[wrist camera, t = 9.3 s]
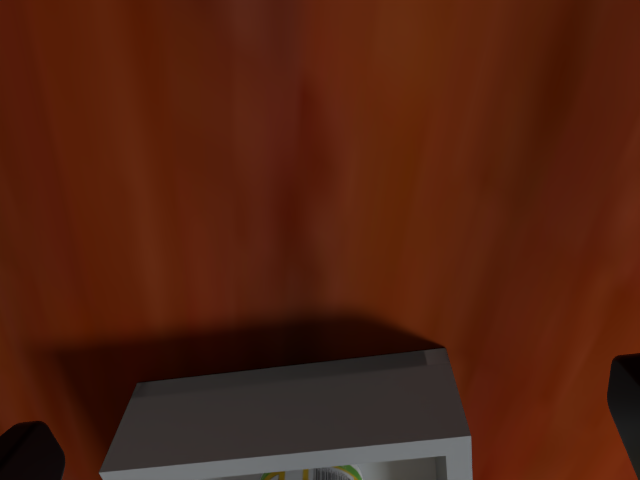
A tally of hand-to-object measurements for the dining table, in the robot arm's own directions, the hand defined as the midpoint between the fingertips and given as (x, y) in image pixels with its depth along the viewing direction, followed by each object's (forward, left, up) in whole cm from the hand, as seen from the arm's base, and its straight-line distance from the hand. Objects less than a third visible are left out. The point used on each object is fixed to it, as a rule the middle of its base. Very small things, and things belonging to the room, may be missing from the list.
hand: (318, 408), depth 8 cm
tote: (+4, +18, -13) cm, 22 cm away
